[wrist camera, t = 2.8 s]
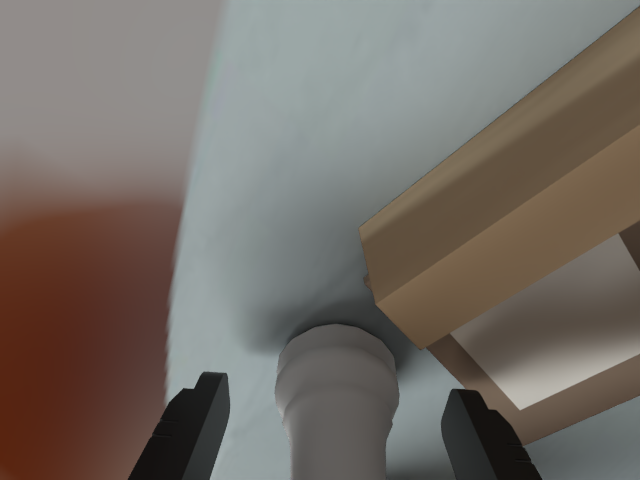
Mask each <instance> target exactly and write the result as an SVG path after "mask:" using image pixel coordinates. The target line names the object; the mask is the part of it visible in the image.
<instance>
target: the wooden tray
mask: <svg viewBox="0 0 640 480" xmlns="http://www.w3.org/2000/svg"><path fill="white" fill-rule="evenodd" d="M358 229H359V234H360V238H361V242H362V247H363V251H364V256H365V260H366V265H367V269H368V275H367V276H365V277H364V284H365V285H366V286H367V287H368V288H369V289H370V290H371V291H372V292H373V296H374V300H375V304H376V305H377V306H378V308H379V309H380V310H381V311H382V312H383V313H384V314H385V315H386V316H387V317H388V318H389V319H390V320H391V321H392V322H393V323H394V324H395V325H396V326H397V327H398V328H399V329H400V330H401V331H402V332H403V333H404V334H405V335H406V336H407V337H408V338H409V339H410V340H411V341H412V342H413V343H414V344H415V345H416V346H417V347H418V348H419V349H420V350H422V349H424V348H425V347H426V348H427V349H428V350H429V351H430V352H431V353H432V354H433V355H434V356H435V357H436V358H437V360H438V361H439V362H440V363H441V364H442V365H443V366H444V367H445V368H446V369H447V370H448V371H449V372H450V373H451V374H452V375H453V376H454V377H455V378H456V379H457V380H458V381H459V382H460V383H461V384H462V385H463V386H464V387H465V388H466V389H467V390H477V391H478V392H479V393H480V394H481V396H482V397H483V399H484V401H485V403H486V405H487V407H488V409H493V410H497V411H498V412H499V413H500V414H501V415H502V416H503V417H504V418H505V419H506V420H507V421H508V422H509V423H510V425H511V426H512V427H513V429H514V431H515V432H516V434H517V436H518V438H519V440H520V441H521V443H522V446H525V445H527V444H529V443H532V442H534V441H536V440H539V439H541V438H543V437H545V436H548V435H550V434H552V433H555V432H557V431H559V430H562V429H564V428H566V427H568V426H571V425H573V424H575V423H578V422H580V421H582V420H585V419H587V418H589V417H591V416H594V415H596V414H598V413H601V412H603V411H605V410H608V409H610V408H612V407H615V406H617V405H619V404H621V403H624V402H626V401H628V400H631V399H633V398H635V397H638V396H640V6H639V7H638V8H637V9H636V10H634V11H633V12H632V13H631V14H629V15H628V16H627V17H626V18H624V19H623V20H622V21H620V22H619V23H618V24H617V25H615V26H614V27H613V28H612V29H610V30H609V31H608V32H607V33H605V34H604V35H603V36H601V37H600V38H599V39H598V40H596V41H595V42H594V43H593V44H591V45H590V46H589V47H587V48H586V49H585V50H584V51H582V52H581V53H580V54H579V55H577V56H576V57H575V58H574V59H572V60H571V61H570V62H568V63H567V64H566V65H565V66H563V67H562V68H561V69H560V70H558V71H557V72H556V73H554V74H553V75H552V76H551V77H549V78H548V79H547V80H546V81H544V82H543V83H542V84H541V85H539V86H538V87H537V88H535V89H534V90H533V91H532V92H530V93H529V94H528V95H527V96H525V97H524V98H523V99H522V100H520V101H519V102H518V103H516V104H515V105H514V106H513V107H511V108H510V109H509V110H508V111H506V112H505V113H504V114H502V115H501V116H500V117H499V118H497V119H496V120H495V121H494V122H492V123H491V124H490V125H489V126H487V127H486V128H485V129H483V130H482V131H481V132H480V133H478V134H477V135H476V136H475V137H473V138H472V139H471V140H469V141H468V142H467V143H466V144H464V145H463V146H462V147H461V148H459V149H458V150H457V151H456V152H454V153H453V154H452V155H450V156H449V157H448V158H447V159H445V160H444V161H443V162H442V163H440V164H439V165H438V166H437V167H435V168H434V169H433V170H431V171H430V172H429V173H428V174H426V175H425V176H424V177H423V178H421V179H420V180H419V181H417V182H416V183H415V184H414V185H412V186H411V187H410V188H409V189H407V190H406V191H405V192H404V193H402V194H401V195H400V196H398V197H397V198H396V199H395V200H393V201H392V202H391V203H390V204H388V205H387V206H386V207H384V208H383V209H382V210H381V211H379V212H378V213H377V214H376V215H374V216H373V217H372V218H371V219H369V220H368V221H367V222H365V223H364V224H363V225H362V226H360V227H359V228H358Z"/></svg>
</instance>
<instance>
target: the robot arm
mask: <svg viewBox="0 0 640 480" xmlns="http://www.w3.org/2000/svg"><path fill="white" fill-rule="evenodd" d="M229 413H230V397H229V386H228V376H227V373H218V372H203V373H202V374H201V376H200V377H199V380H198V382H197V384H196V386H195V388H194V389H185V388H183V389H182V390H181V391H180V392H179V393H178V394H177V395H176V396H175V397H174V398H173V399H172V400H171V401H170V402H169V404H168V406H167V408H166V409H165V411H164V413H163V415H162V417H161V419H160V422H159V423H158V424H157V426H156V428H155V430H154V432H153V433H152V437H151V438H150V439H149V441H148V443H147V445H146V447H145V448H144V450H143V452H142V454H141V456H140V458H139V459H138V461H137V463H136V465H135V467H134V469H133V471H132V472H131V474H130V476H129V478H128V480H209V479H210V476H211V473H212V470H213V467H214V464H215V461H216V458H217V455H218V451H219V448H220V445H221V442H222V439H223V436H224V433H225V430H226V427H227V423H228V419H229ZM441 431H442V437H443V441H444V444H445V447H446V450H447V452H448V455H449V458H450V461H451V464H452V467H453V470H454V473H455V476H456V479H457V480H542V478H541V477H540V475H539V473H538V471H537V470H536V468H535V466H534V464H532V463H531V459H530V457H529V455H528V454H527V452H526V450H525V448H523V447H522V443H521V441H520V440H519V438H518V436H517V434H516V432H515V431H514V429H513V427H512V426H511V425H510V423H509V422H508V421H507V420H506V419H505V418H504V417H503V416H502V415H501V414H500V413H499V412H498V411H497V410H493V409H488V407H487V405H486V403H485V401H484V399H483V397H482V396H481V394H480V393H479V392H478V391H477V390H466V389H452V390H451V392H450V395H449V398H448V401H447V404H446V407H445V410H444V413H443V416H442V420H441Z"/></svg>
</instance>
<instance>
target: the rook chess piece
mask: <svg viewBox="0 0 640 480" xmlns="http://www.w3.org/2000/svg"><path fill="white" fill-rule="evenodd" d="M275 400H276V404H277V407H278V409H279V412H280V415H281V417H282V419H283V422H282V423H283V426H284V429H285V431H286V434H287V436H288V437H289V442H290V462H291V480H386V451H385V449H386V440H387V437H388V435H389V433H390V430H391V428H392V425H393V424H392V419H393V417H394V414H395V412H396V409H397V407H398V405H399V388H398V382H397V376H396V367H395V361H394V356H393V355H392V353H391V352H390V351H389V349H388V348H387V347H386V346H385V344H384V343H383V342H382V340H380V339H378V338H376V337H375V336H373V335H371V334H369V333H367V332H366V331H364V330H362V329H360V328H358V327H355V326H349V325H343V324H336V323H335V324H329V325H323V326H316V327H314V328H312V329H310V330H308V331H306V332H304V333H303V334H301V335H299V336H297V337H295V338H293V339H292V340H291V341H290V342H289V343H288V345H287V346H286V347H285V349H284V350H283V351H282V352H281V354H280V355H279V361H278V367H277V380H276V386H275Z"/></svg>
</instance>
